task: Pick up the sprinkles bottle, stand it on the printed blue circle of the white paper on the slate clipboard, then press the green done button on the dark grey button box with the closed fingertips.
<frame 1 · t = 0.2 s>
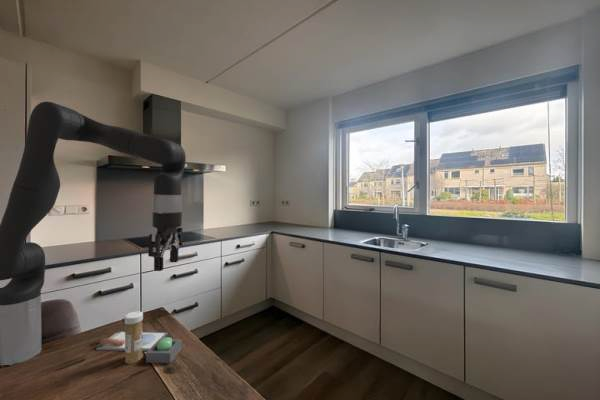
hand: (166, 266, 75), 28 cm above the table, fingers open, 8 cm apart
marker: (112, 346, 81), resting on clipboard
clipboard: (134, 341, 84), on the table
done button: (164, 345, 78), point 3 cm above the table, slide at 0.0 cm
button box: (164, 355, 78), on the table
sprinkles bottle: (133, 359, 76), on the table
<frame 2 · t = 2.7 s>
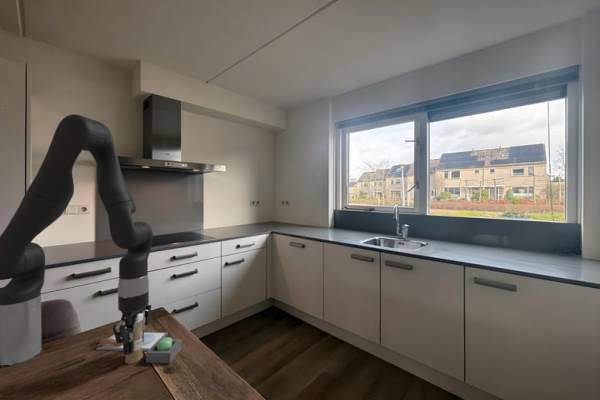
hand: (133, 348, 76), 3 cm above the table, fingers closed on sprinkles bottle, 4 cm apart
sprinkles bottle: (133, 359, 76), on the table, touching gripper
everything else where it was.
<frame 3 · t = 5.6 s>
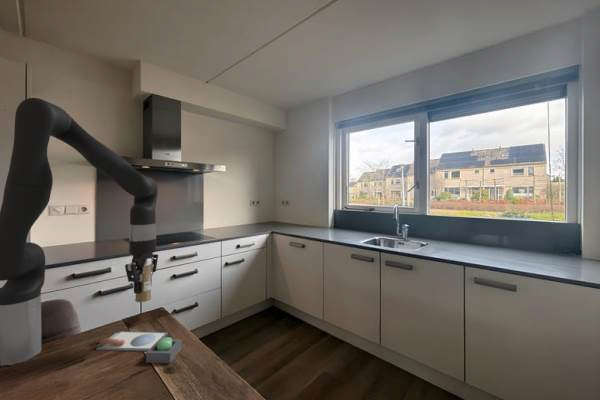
hand: (142, 289, 84), 17 cm above the table, fingers closed on sprinkles bottle, 4 cm apart
sprinkles bottle: (143, 300, 84), point 14 cm above the table, touching gripper
everything else where it was.
when the fingers open (5 cm above the table, at t = 8.1 s): sprinkles bottle stays where it is, resting on clipboard.
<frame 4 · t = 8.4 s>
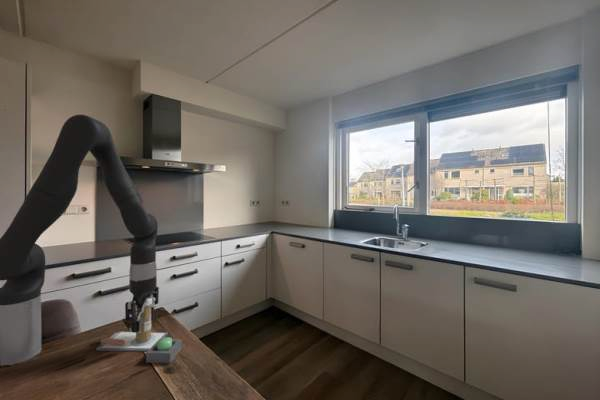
hand: (143, 325, 84), 6 cm above the table, fingers open, 7 cm apart
sprinkles bottle: (143, 340, 84), point 1 cm above the table, touching clipboard
everything else where it was.
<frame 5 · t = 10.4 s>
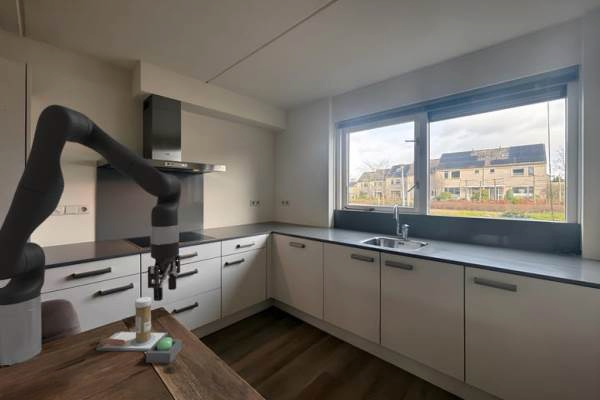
hand: (165, 294, 77), 18 cm above the table, fingers open, 7 cm apart
nothing on the table moved.
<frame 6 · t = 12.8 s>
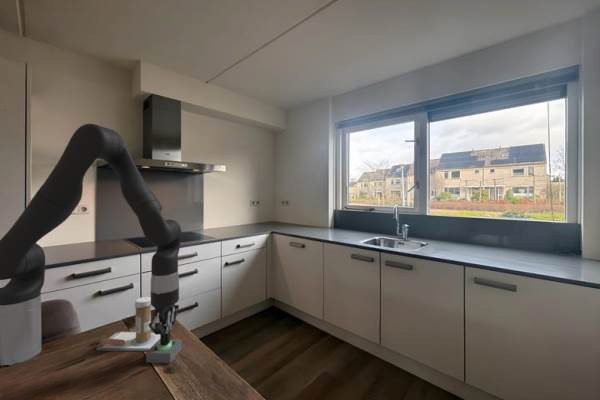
hand: (165, 344, 78), 4 cm above the table, fingers closed
done button: (164, 348, 78), point 2 cm above the table, slide at 1.0 cm, touching gripper
everything else where it was.
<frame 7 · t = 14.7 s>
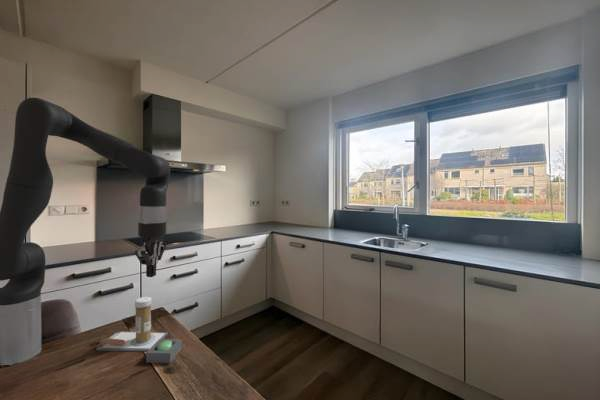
hand: (151, 276, 80), 23 cm above the table, fingers closed
done button: (164, 349, 78), point 2 cm above the table, slide at 1.0 cm
everything else where it was.
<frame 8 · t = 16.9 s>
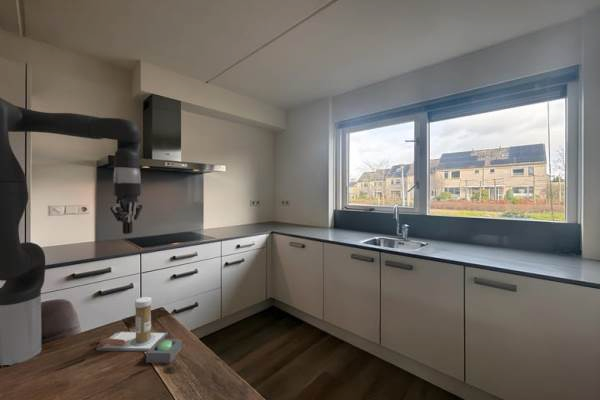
hand: (127, 233, 87), 35 cm above the table, fingers closed
nothing on the table moved.
at the end: sprinkles bottle 0.1 cm from the target spot, point 0.6 cm above the table; sprinkles bottle tilted 0°; done button slide at 1.0 cm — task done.
